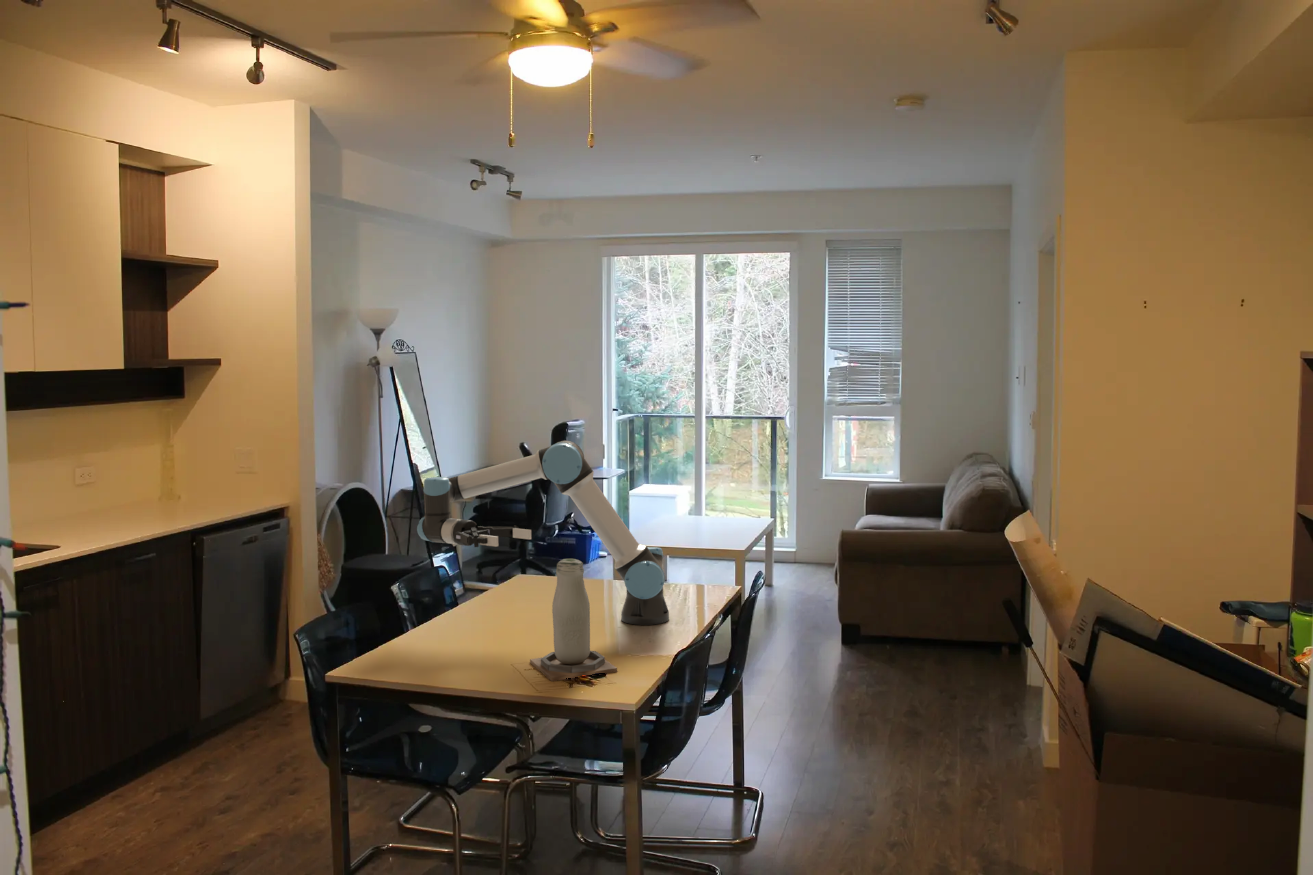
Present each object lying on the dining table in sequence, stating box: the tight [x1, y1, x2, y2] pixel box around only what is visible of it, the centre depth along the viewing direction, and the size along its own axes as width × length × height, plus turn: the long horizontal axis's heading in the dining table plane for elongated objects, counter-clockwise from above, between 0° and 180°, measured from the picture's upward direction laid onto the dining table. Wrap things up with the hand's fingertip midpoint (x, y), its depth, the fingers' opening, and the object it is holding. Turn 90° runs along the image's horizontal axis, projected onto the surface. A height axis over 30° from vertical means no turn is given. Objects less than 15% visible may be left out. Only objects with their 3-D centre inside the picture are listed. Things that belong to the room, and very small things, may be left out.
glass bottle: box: [551, 558, 591, 665], centre depth 259 cm, size 10×10×28 cm
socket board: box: [529, 650, 618, 682], centre depth 260 cm, size 18×18×2 cm
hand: (514, 538), depth 277 cm, fingers open, 13 cm apart
